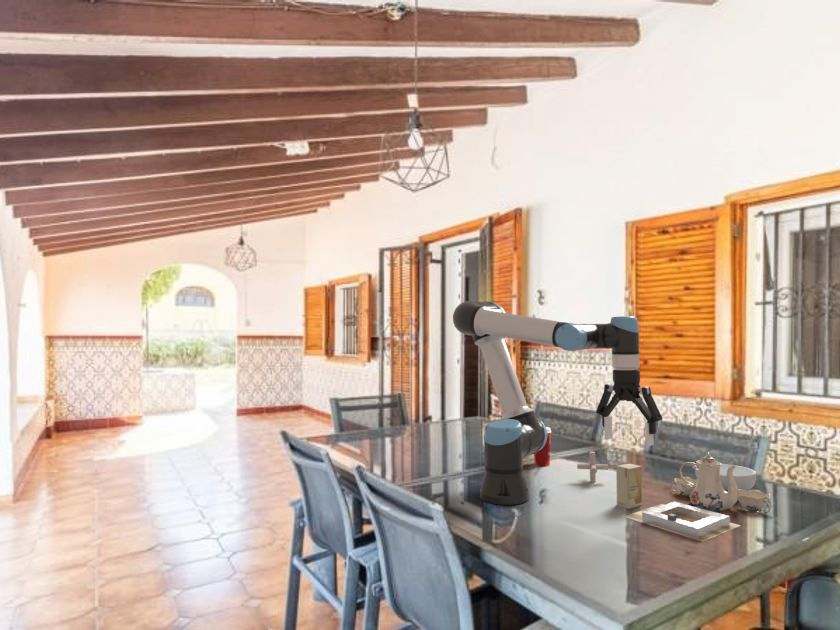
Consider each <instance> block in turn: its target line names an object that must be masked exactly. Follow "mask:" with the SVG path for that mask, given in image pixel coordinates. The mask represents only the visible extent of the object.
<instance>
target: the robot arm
mask: <svg viewBox="0 0 840 630" xmlns="http://www.w3.org/2000/svg"><path fill="white" fill-rule="evenodd" d="M452 322H453V325H454V327H455V329H456V330H457V331H458V332H459V333H460V334H462V335H466V336H472V340H473V342H474V344H475V345H476V346H478V347H479V348H480V349H481V352H482V356H483V359H484V361H485V365H486V367H487V371H488V373H489V376H490V379H491V382H492V386H493V388H494V392H495V394H496V395H495V396H496V397H497V401H498V404H499V406H500V409H501V414H502V416H501V418H500V419H495V420H492V421H490V422H487V424H486V425H485V426H484V435H483V440H484V471H485V472H484V475H483V479H482V482H481V487H480V488H479V499H480V500H482V501H483V500H484V501H483V502H485V501H486V503H488V502H489V503H490V504H492V503H493V505H500V506H509V505H510V506H512V505H520V504H523V503H526V502H528V501H529V499H530V490H529V488H528V485H527V481H526V479H525V476H524V469H523V467H524V465H523V461H524V460H523V458H526V457H528V456H532V455H534V454H535V453H537V452H538V451H539V450H541V449H542V448H543V447H544V445H545V443H546V441H547V430H546V427H547V426H546V425H545V424H544V422H543V421H542V420H540V419H539V418H538V417H537V416H536V412H535V410H534V409H533V408H532V407H529V406H528V404H527V402H526V401H527V400H526V398H525V396H524V395H525V394H524V392H523V389H522V387H521V384H520V381H519V378H518V376H517V373H516V370H515V367H514V364H513V361H512V358H511V355H510V352H509V350H508V345H507V344H506V341H505V339H506V338H507V339H513V340H517V341H524V342H529V343H533V344H541V345H544V346H545V345H546V346H550V347H555V348H560V349H562V350H564V351H568V352H576V351H581V350H583V351H584V350H590V349H592V350H596V349H597V350H598V349H601V350H602V349H611V366H612V368H613V370H612V382H613V384H612V383H606V384H604V386H603V392H602V396H601V398H600V400H599V403H598V404H597V408H596V410H595V412H596V414H598V415H599V416H601V423H602V424H601V425H602V427H603V428H604V430H603V431H604V440H609V439H613V417H612V415H611V413H612V412H613V411H614V409H615V408H616V407H617V405H618V404H619V403H620V402H621V401H622V402H623V401H626V402H632V403H633V404H634V405H635V406H636V407H637V409H638V410H639V412H640V413H641V414H642V416H644V419H645V420H646V422H644V430H645V447H651V446H654V445H655V444H654V441H655V439H654V434H655V435H656V432H657V431H656V429H657V427H656V425H657V424H656V423H657V422H658V421H662V420H663V416H662V414H661V412H660V410H659V408H658V406H657V404H656V401H655V400H654V398H653V395H652V391H651V387H650V386H642V387H641V386H640V383H641V371H640V370H639V368H640V336H639V334H640V331H639V324H638V323H639V321H638V318H637V317H636V316H633V315H632V316H631V315H630V316H629V315H628V316H627V315H626V316H612V317H611V318H610V322H608V323H579V324H578V323H573V322H572V323H571V322H564V321H558V320H552V319H545V318H539V317H538V318H537V317H534V316H533V317H532V316H526V315H520V314H514V313H507V312H506V311H505V310H504V308H503V307H502V306H501V305H499V304H497V303H495V302H492V301H489V300H488V301H486V300H485V301H477V300H467V301H463V302H461V303H460V304H458V305H457V306H456V307H455V309H454V311H453V313H452ZM613 392H614V395H613V396H612V394H613ZM640 394H641V395H642V396H641V395H640ZM611 396H612V397H611ZM610 399H611V400H610Z"/></svg>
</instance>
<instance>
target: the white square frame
mask: <svg viewBox="0 0 840 630" xmlns="http://www.w3.org/2000/svg"><path fill="white" fill-rule="evenodd" d="M677 516H682V517H685V518H689V519H692V520H696V522H693V523H692V522H689V521H685V520H682V519H678V518H677ZM642 522H645V523H648V524H651V525H654V526H658V527H661V528H664V529H667V530H670V531H674V532H677V533H680V534H683V535H686V536H689V537H693V538H696V539H700V538H702V537H705V536H707V535H709V534H712V533H714V532H717V531H719V530H721V529H724V528H726V527H728V526H730V523H731V519H730V515H726V514H723V513H719V512H717V511H711V510H705V509H701V508H698V507H695V506H694V505H689V504H685V503H682V502H678V501H672V502H669V503H665V504H664V505H662V506H659V507H656V508H653V509H650V510H647V511H644V512H642ZM642 522H641V523H642ZM645 523H644V524H645ZM648 524H647V525H648ZM651 525H650V526H651ZM654 526H653V527H654ZM658 527H657V528H658ZM661 528H660V529H661ZM664 529H663V530H664ZM667 530H666V531H667ZM670 531H669V532H670ZM674 532H673V533H674ZM677 533H676V534H677ZM680 534H679V535H680ZM683 535H682V536H683ZM686 536H685V537H686ZM689 537H688V538H689ZM693 538H692V539H693ZM696 539H695V540H696Z"/></svg>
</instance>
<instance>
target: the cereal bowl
mask: <svg viewBox="0 0 840 630" xmlns="http://www.w3.org/2000/svg"><path fill="white" fill-rule="evenodd" d="M695 466H696V465H695ZM731 466H736V467H735V468H734V470H733V476H734V479H735V482H736V484H737V487H738V490H739V489H744V490H746V491H750V490H752V488H753V487H754V486H755V484H756V482H757V471H755V470H754V469H752V468H749V467H746V466H742V465H741V466H740V465H736V464H727V463H722V464H721V466H720V480H721V484H722V487H723V489H724V490H725V491H726V492H728V491H729V485H728V479H727V470H728V468H729V467H731ZM696 467H697V466H696ZM694 474H695V477H696V478H695V479H698V474H699V472H698V468H697V469H694Z"/></svg>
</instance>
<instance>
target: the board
mask: <svg viewBox="0 0 840 630" xmlns="http://www.w3.org/2000/svg"><path fill="white" fill-rule="evenodd" d="M662 505H665V504H664V503H660V504H657V505H654V506H651V507H648V508H644V509H642V510H639V511H635V512H632V513H630V514H627V515H623V516H622V517H623V518H626V519H629V520H633V521H636V522H638V523H643V524H645V525H649V526H651V527H655V528H658V529H661V530H664V531H666V532H667V531H668V532H670V533H673V534H674V533H675V534H677V535H680V536H683V537H687V538H689V539H693V540H696V541H699V542H706V541H709V540H711V539H713V538H716V537H718V536H720V535H722V534H725V533H728V532H730V531H731V530H735V529H737V528H739V527H741V526H742V525H740V524H736V523H734V522H730V526H728V527H726V528H724V529H721V530H719V531H717V532H714V533H712V534H709V535H707V536H705V537H702V538H700V539H696V538H693V537H689V536H686V535H683V534H680V533H677V532H674V531H670V530H667V529H664V528H661V527H658V526H654V525H651V524H648V523H645V522H642V512H644V511H647V510H650V509H653V508H656V507H659V506H662ZM677 518H678V519H682V520H685V521H689V522H692V523H693V522H696V520H692V519H689V518H685V517H682V516H677Z"/></svg>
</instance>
